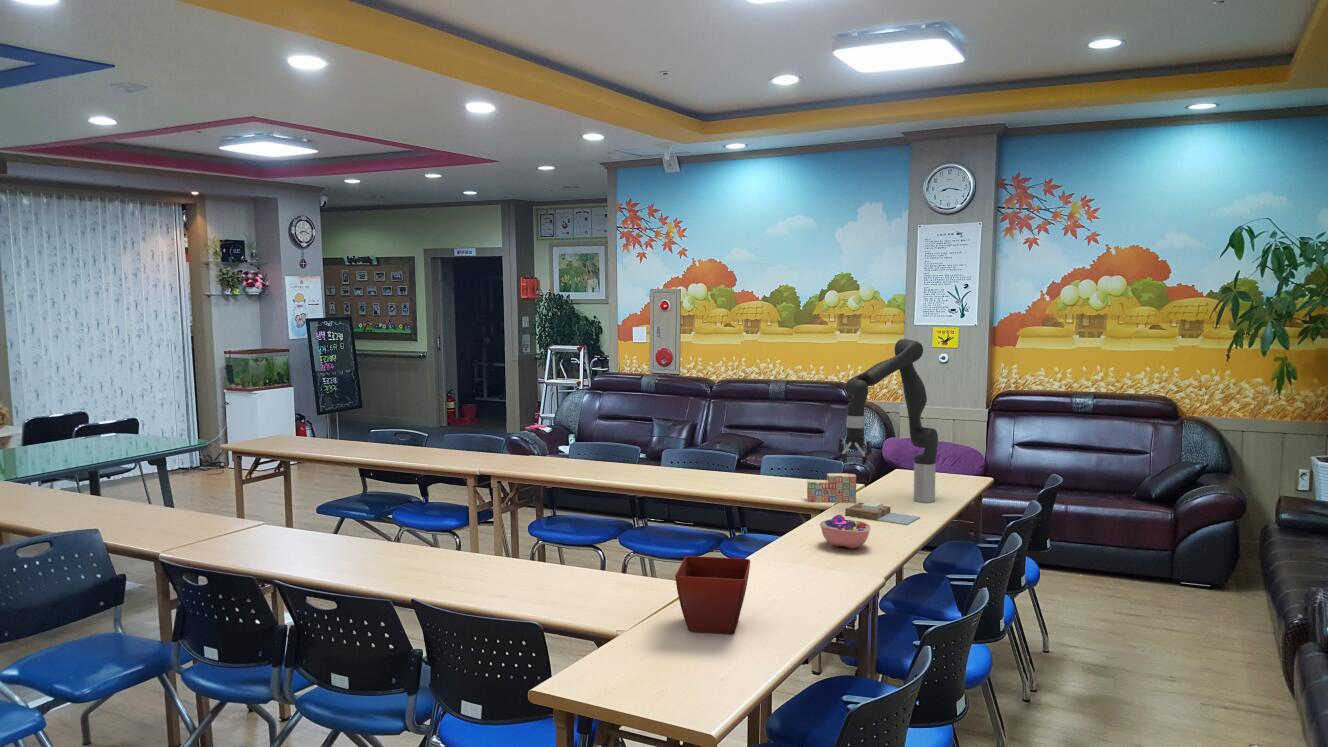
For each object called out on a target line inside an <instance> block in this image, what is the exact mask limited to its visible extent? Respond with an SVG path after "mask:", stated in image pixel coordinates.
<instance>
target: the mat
mask: <svg viewBox="0 0 1328 747" xmlns="http://www.w3.org/2000/svg"><path fill="white" fill-rule="evenodd" d="M920 519H921V516H916V515H909V514H903V513H895V512H890V513H889V514H887V515H885V516H883V517H881V518H879V519H877V521H878V522H884V523H891V524H897V525H902V526H904V525H905V526H908V525H910V524H912V523H914V522H916V521H917V520H920ZM877 521H876V522H877Z"/></svg>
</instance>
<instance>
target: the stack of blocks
mask: <svg viewBox="0 0 1328 747" xmlns="http://www.w3.org/2000/svg"><path fill="white" fill-rule="evenodd" d="M806 486H807V487H806V491H807V494H806V495H807V496H806V497H807V502H808V503H831V504H832V503H835V504H836V503H839V504H840V503H841V504H857V503H856V502H857V475H856V474H855V473H844V472H843V473H842V472H841V473H827V475H826V479H807V485H806Z"/></svg>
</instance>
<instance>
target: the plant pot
mask: <svg viewBox="0 0 1328 747" xmlns="http://www.w3.org/2000/svg"><path fill="white" fill-rule="evenodd" d="M750 566H751V559H749V558H736V557H735V558H734V557H716V556H715V557H714V556H696V555H686V556H684V558H683V560H682V562H681V564H680V566H679V567H678V569H677V571H676V573H675V584H676V591H677V595H678V601H679V604H680V609H681V612H682V615H683V618H684V622H685V625H686V627H687V630H688V631H689V632H690V633H691V632H693V633H708V634H720V635H721V634H724V635H734V634H735V633H736V630H737V627H738V623H739V620H740V615H741V611H742V607H743V605H744V601H745V596H746V591H747V585H748V580H749V575H750V569H751V568H750Z"/></svg>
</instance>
